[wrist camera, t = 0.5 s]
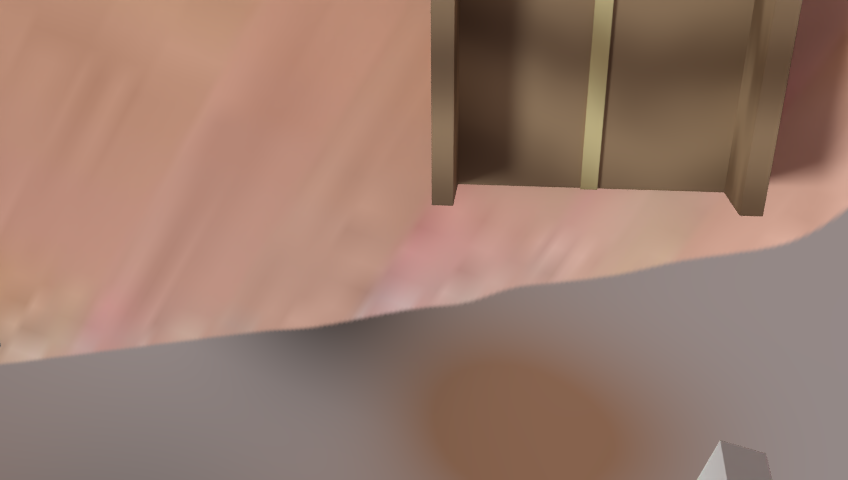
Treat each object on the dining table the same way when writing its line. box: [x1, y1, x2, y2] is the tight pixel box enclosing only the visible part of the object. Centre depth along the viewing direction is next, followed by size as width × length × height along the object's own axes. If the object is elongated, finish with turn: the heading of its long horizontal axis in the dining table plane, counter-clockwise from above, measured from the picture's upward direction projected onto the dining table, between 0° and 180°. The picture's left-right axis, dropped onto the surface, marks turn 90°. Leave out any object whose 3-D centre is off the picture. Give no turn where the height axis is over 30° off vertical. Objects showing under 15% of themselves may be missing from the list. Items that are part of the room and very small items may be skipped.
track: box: [431, 0, 802, 216], centre depth 35 cm, size 14×15×4 cm
